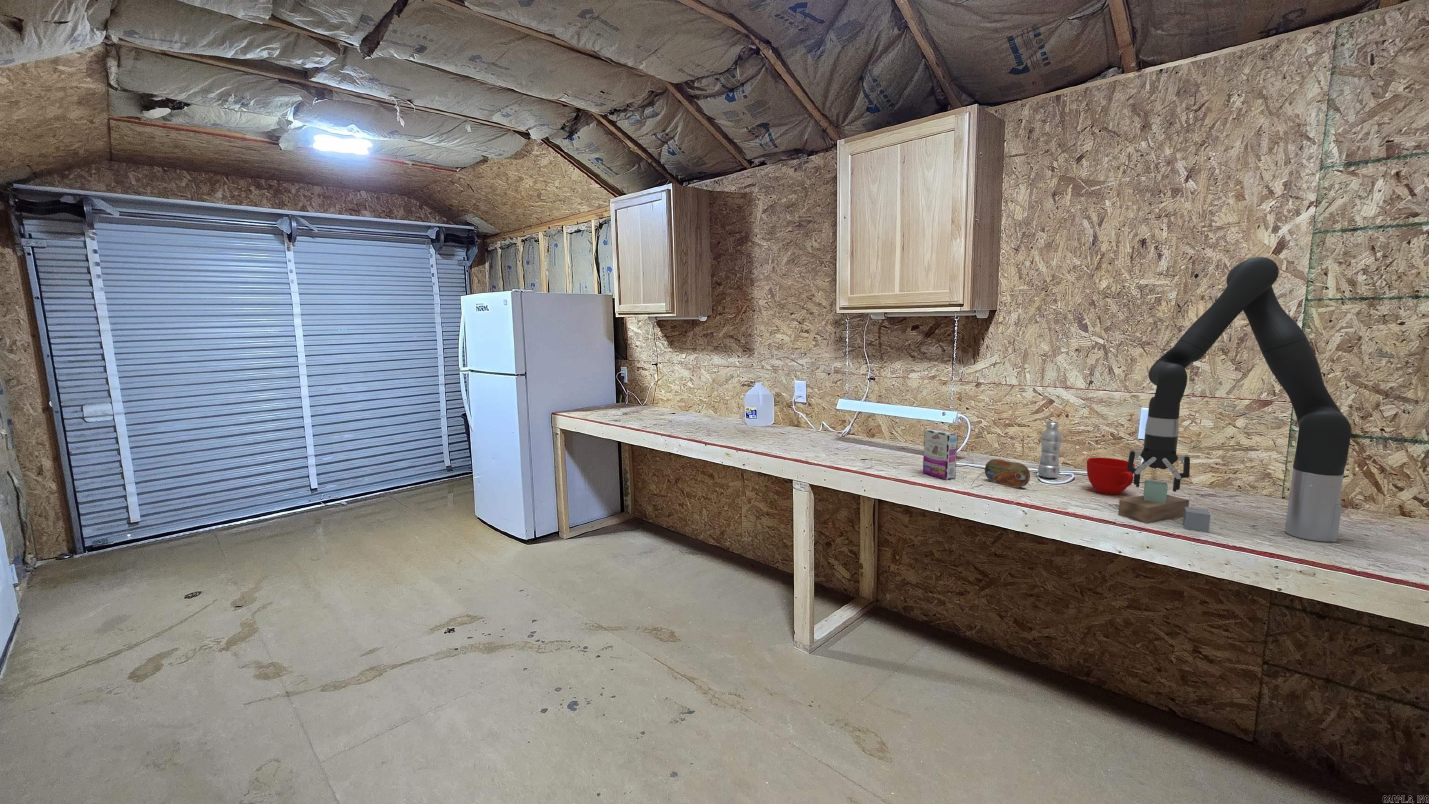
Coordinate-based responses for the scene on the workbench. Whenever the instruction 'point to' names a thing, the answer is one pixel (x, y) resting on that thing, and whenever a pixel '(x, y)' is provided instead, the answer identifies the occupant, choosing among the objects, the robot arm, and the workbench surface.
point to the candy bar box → (940, 453)
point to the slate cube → (1196, 519)
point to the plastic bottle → (1050, 451)
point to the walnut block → (1152, 509)
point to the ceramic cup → (1109, 475)
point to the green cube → (1155, 491)
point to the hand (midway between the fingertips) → (1155, 488)
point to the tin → (1007, 473)
